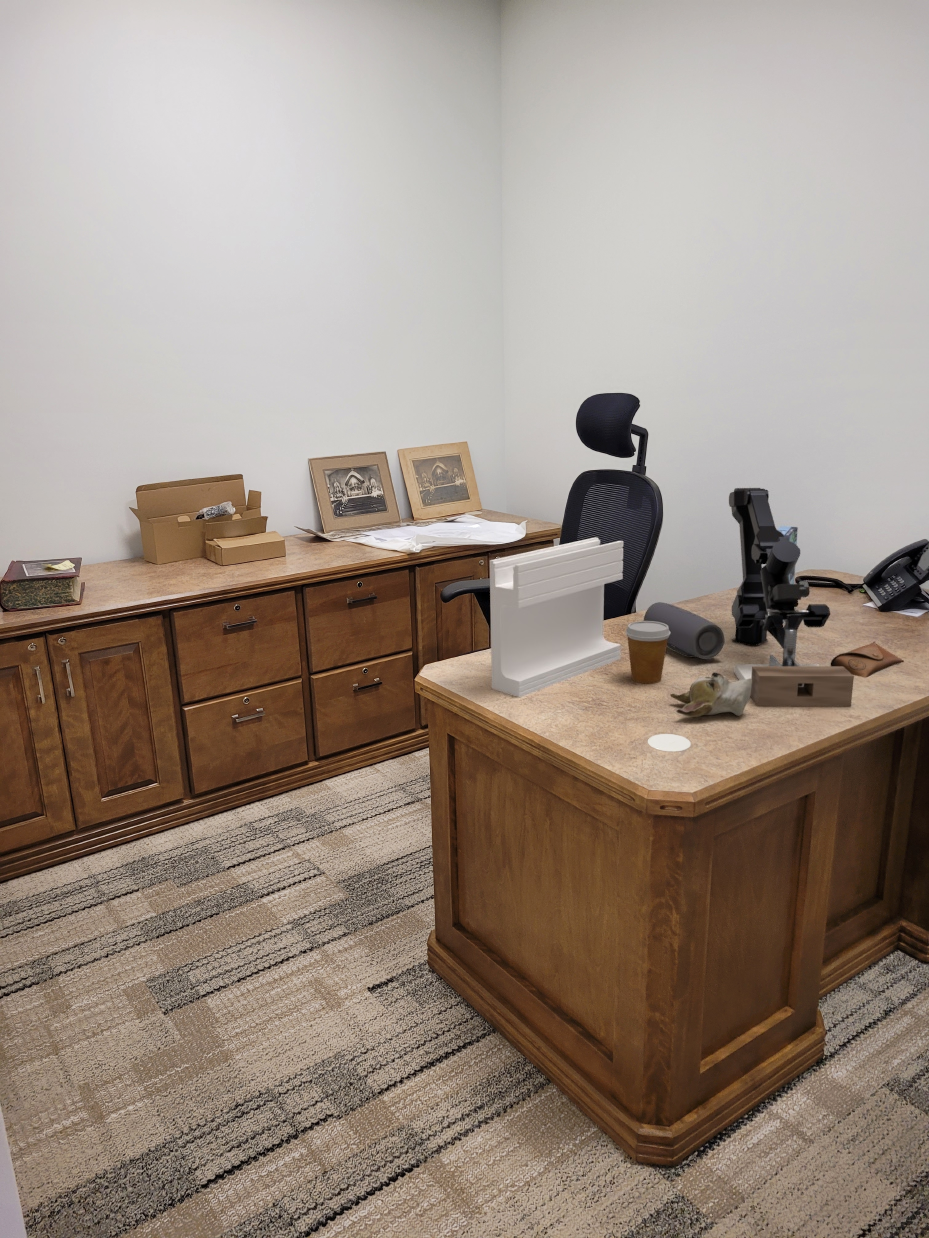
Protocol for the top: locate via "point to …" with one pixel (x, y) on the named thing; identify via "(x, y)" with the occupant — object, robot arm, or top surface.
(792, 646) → the bolt
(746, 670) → the door panel
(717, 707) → the ceramic sculpture
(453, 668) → the top surface
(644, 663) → the disposable coffee cup
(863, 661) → the sunglasses case
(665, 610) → the bluetooth speaker
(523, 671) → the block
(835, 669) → the door jamb
